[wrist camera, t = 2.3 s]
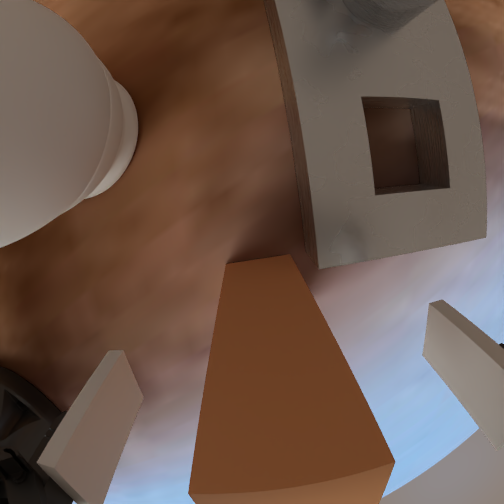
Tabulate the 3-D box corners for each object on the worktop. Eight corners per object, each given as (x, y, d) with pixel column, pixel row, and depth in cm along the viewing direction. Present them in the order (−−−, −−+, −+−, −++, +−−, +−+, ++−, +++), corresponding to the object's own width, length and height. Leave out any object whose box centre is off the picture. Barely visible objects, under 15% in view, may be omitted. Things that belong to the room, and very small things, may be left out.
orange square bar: (236, 320, 20) (230, 546, 5) (226, 264, 19) (188, 493, 4) (296, 311, 20) (368, 525, 5) (290, 254, 19) (395, 461, 4)
